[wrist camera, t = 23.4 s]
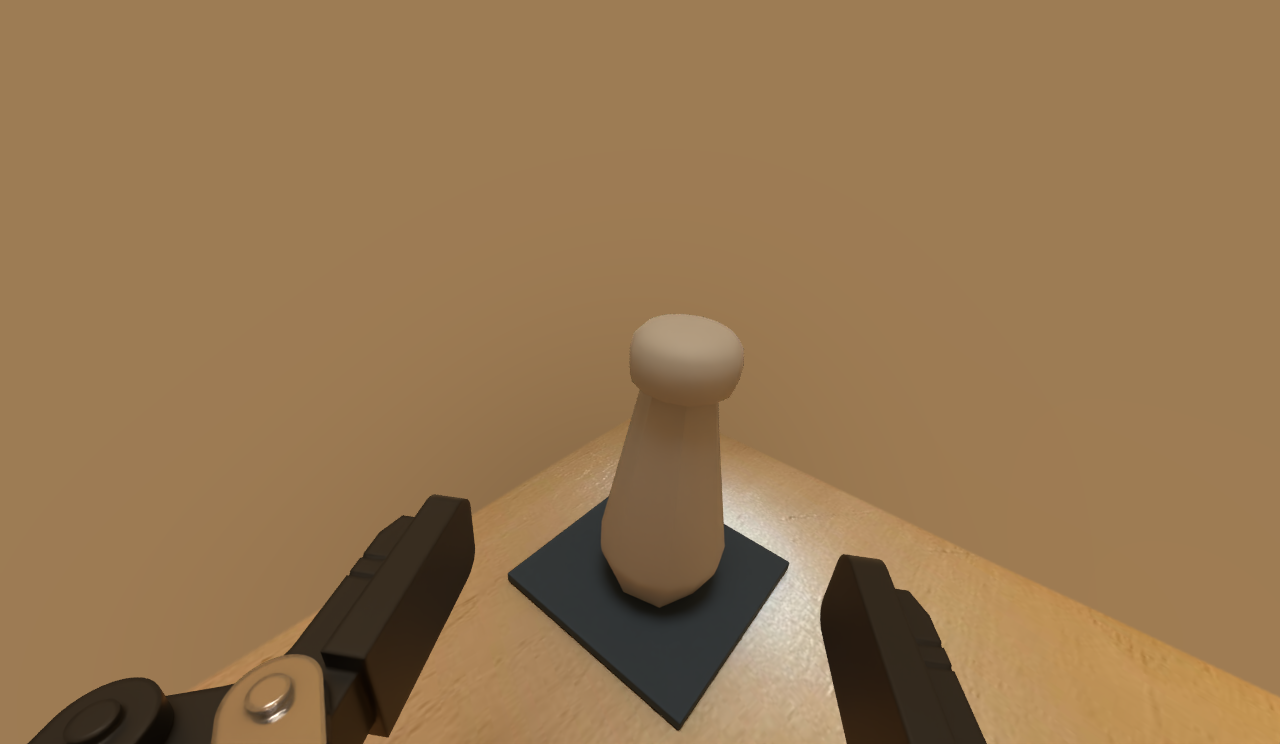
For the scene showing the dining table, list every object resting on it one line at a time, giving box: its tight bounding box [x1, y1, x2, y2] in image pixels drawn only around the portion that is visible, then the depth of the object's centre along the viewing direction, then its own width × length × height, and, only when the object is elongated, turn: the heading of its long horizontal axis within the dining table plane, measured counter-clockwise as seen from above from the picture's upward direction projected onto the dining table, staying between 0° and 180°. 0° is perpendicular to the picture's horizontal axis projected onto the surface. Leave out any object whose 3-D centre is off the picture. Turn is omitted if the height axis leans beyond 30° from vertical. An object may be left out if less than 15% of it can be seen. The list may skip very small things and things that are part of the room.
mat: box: [508, 497, 789, 730], centre depth 25 cm, size 10×10×1 cm
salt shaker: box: [601, 314, 744, 608], centre depth 21 cm, size 6×6×13 cm
